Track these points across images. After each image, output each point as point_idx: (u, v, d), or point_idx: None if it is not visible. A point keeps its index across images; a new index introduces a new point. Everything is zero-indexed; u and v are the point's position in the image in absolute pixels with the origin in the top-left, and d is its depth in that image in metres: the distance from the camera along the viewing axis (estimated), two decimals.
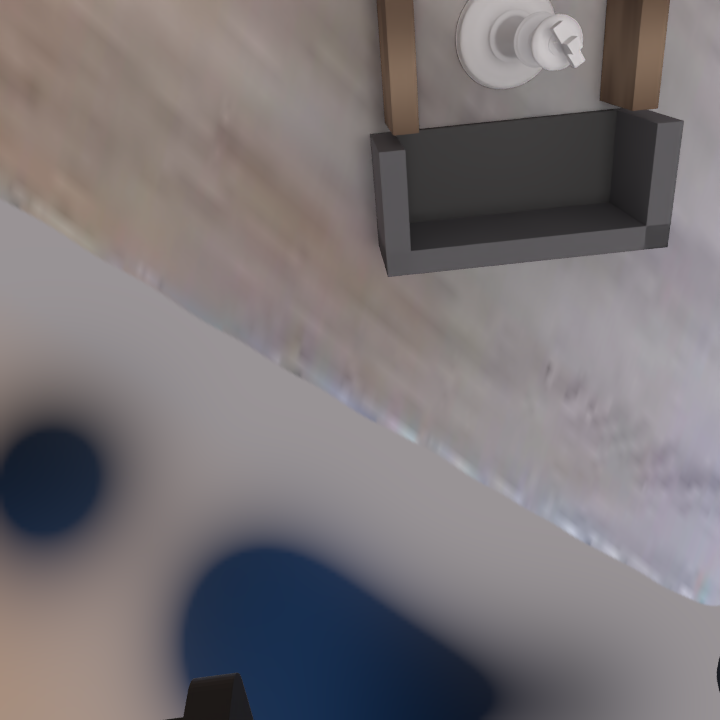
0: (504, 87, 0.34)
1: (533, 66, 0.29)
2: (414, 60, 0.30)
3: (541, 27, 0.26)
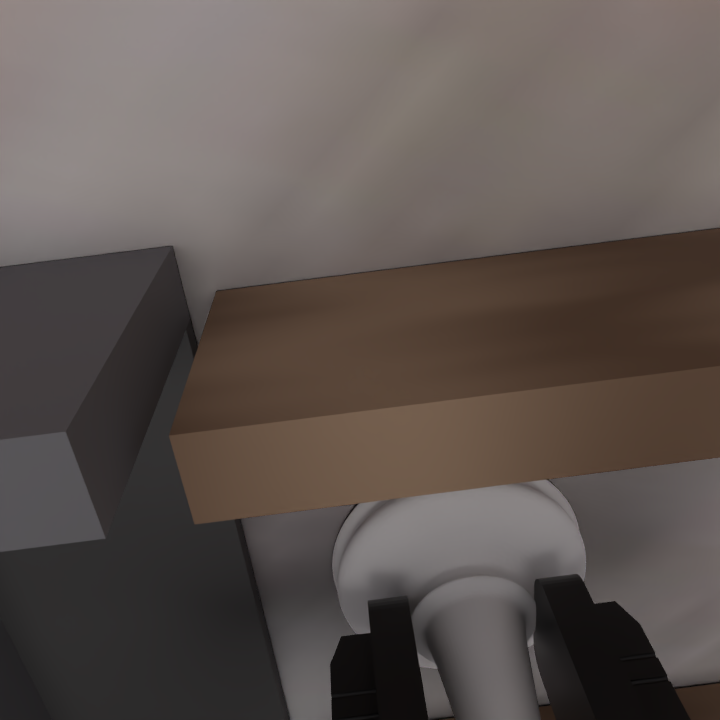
0: (341, 594, 0.13)
1: None
2: (469, 485, 0.08)
3: None
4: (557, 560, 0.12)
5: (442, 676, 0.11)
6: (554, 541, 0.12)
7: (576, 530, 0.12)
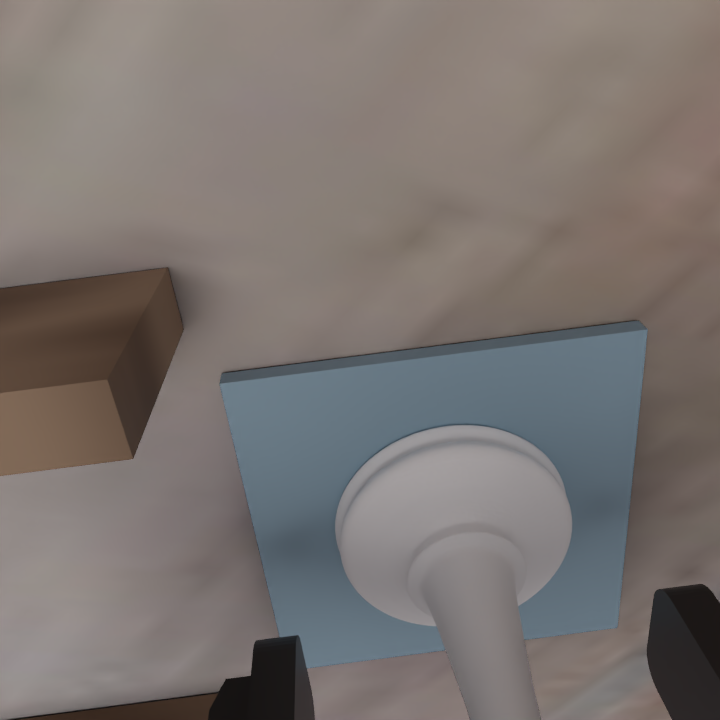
0: (343, 553, 0.14)
1: None
2: None
3: None
4: (545, 520, 0.13)
5: (437, 623, 0.12)
6: (542, 502, 0.13)
7: (562, 492, 0.13)
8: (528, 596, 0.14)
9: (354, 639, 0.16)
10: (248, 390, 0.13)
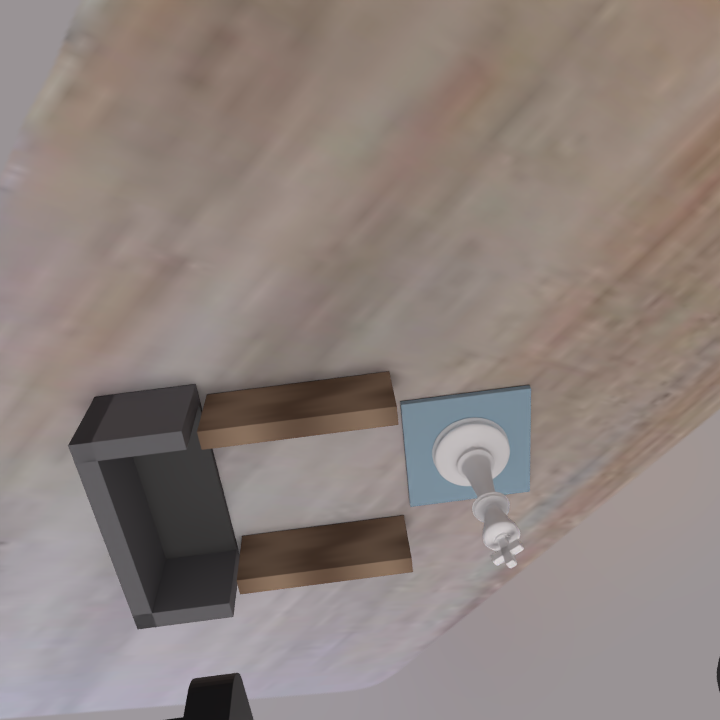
0: (436, 458, 0.42)
1: (473, 507, 0.38)
2: (256, 441, 0.37)
3: (513, 526, 0.36)
4: (500, 447, 0.42)
5: (467, 475, 0.41)
6: (499, 441, 0.42)
7: (506, 439, 0.42)
8: (496, 474, 0.43)
9: (435, 494, 0.45)
10: (409, 406, 0.41)
